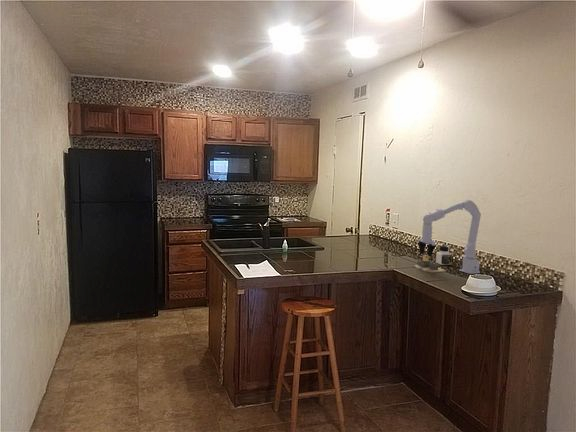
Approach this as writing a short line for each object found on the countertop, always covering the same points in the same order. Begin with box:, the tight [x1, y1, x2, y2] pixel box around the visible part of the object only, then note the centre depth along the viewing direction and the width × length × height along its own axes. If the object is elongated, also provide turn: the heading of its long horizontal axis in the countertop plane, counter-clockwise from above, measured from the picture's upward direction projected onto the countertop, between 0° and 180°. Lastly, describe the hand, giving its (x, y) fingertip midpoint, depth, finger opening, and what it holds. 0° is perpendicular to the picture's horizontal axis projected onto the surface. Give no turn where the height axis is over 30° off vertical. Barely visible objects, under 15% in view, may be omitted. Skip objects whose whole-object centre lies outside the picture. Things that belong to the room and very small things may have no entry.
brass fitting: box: [422, 254, 430, 263], centre depth 281 cm, size 4×4×7 cm
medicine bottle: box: [435, 245, 452, 266], centre depth 294 cm, size 7×7×12 cm
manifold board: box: [412, 259, 446, 274], centre depth 277 cm, size 17×11×4 cm, turn 20°
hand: (425, 254), depth 280 cm, fingers open, 7 cm apart
